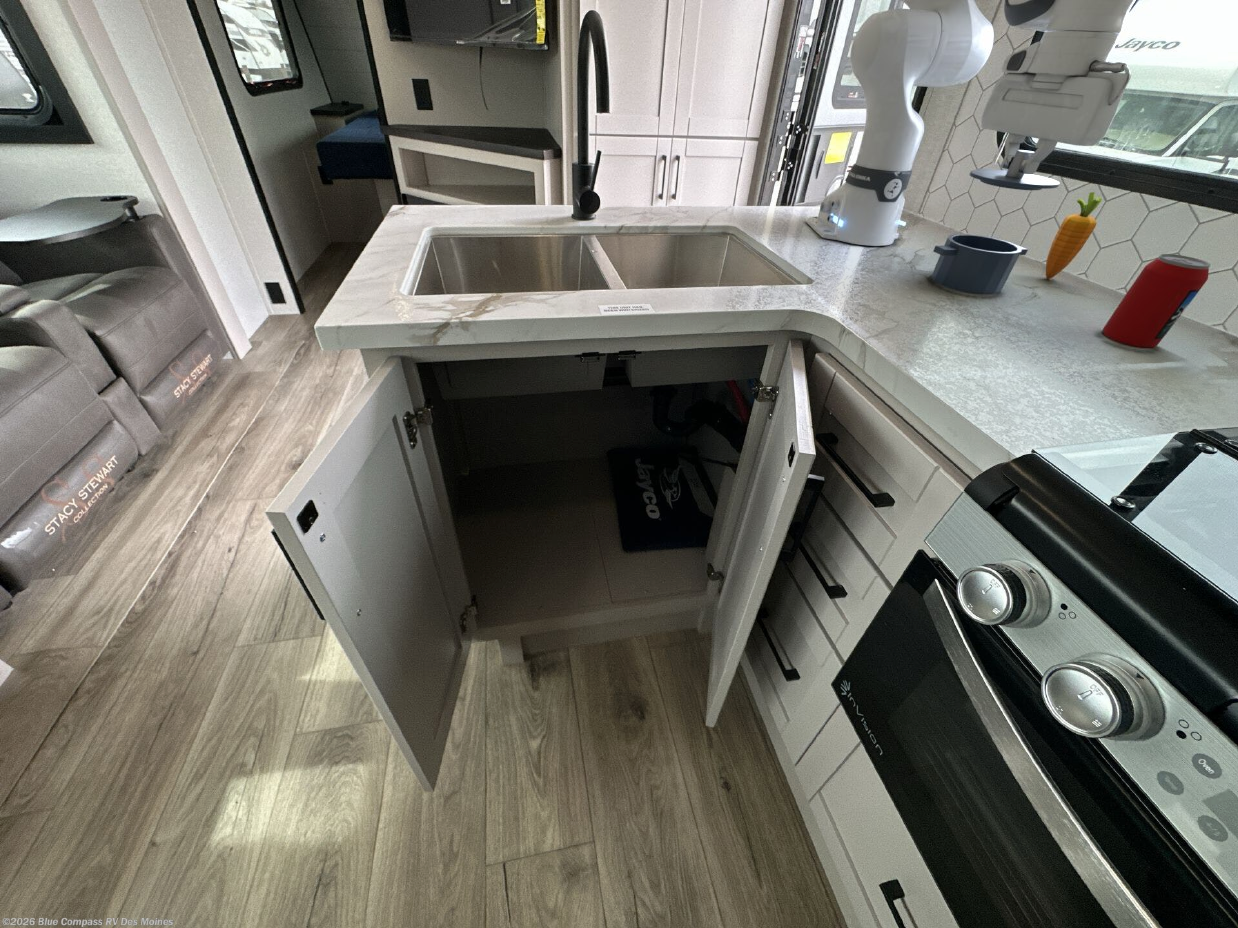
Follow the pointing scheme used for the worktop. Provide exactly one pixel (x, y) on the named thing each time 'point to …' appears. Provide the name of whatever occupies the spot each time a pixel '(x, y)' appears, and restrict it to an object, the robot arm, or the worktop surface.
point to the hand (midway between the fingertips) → (1016, 171)
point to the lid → (1015, 176)
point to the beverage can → (1156, 300)
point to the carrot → (1071, 237)
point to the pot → (975, 263)
